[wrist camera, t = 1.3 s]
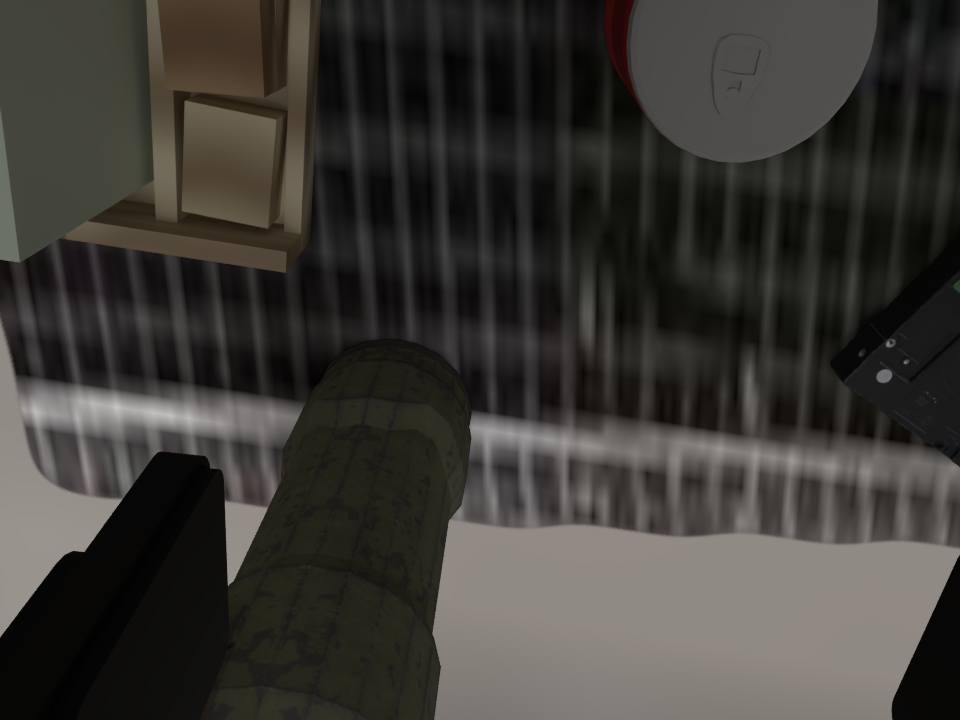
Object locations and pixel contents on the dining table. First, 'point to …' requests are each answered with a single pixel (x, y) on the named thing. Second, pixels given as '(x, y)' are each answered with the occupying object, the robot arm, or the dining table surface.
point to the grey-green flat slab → (70, 115)
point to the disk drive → (914, 356)
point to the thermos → (352, 548)
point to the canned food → (739, 68)
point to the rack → (158, 205)
